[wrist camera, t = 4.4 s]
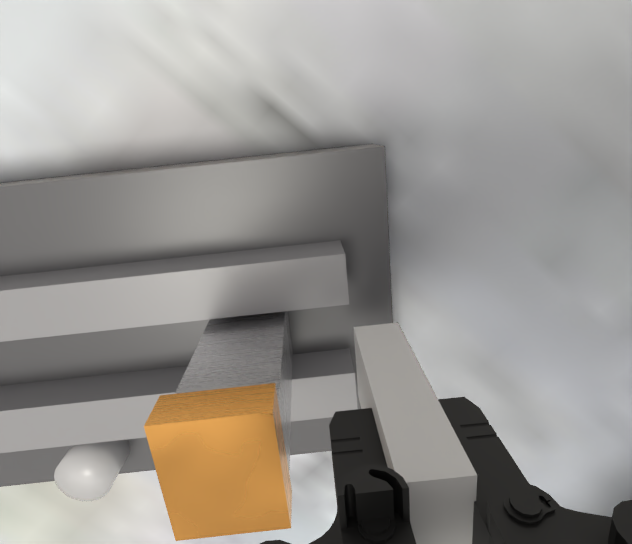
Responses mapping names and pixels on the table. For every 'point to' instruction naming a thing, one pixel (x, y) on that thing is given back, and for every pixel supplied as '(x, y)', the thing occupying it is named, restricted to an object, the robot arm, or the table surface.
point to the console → (177, 297)
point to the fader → (228, 431)
